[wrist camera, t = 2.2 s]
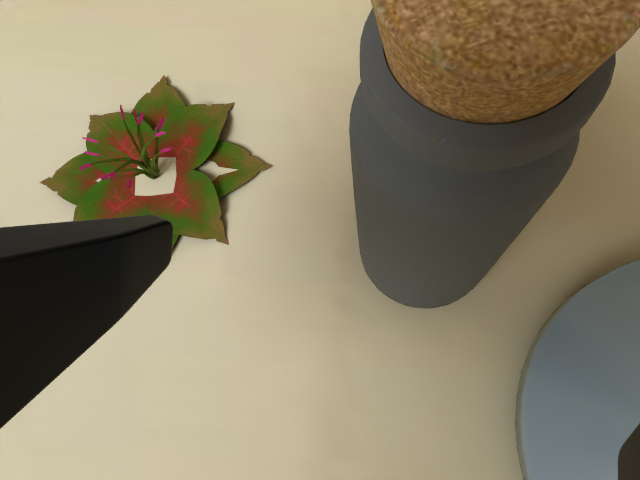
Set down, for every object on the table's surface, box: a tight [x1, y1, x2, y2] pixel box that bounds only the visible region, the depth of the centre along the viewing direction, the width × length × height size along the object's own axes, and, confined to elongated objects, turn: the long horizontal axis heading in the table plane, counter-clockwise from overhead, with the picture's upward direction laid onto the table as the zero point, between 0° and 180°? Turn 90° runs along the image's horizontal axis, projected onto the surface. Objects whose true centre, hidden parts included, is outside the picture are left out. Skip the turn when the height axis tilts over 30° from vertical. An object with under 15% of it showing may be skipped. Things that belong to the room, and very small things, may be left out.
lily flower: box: [39, 76, 272, 246], centre depth 23 cm, size 12×12×5 cm
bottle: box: [349, 0, 640, 308], centre depth 15 cm, size 6×6×15 cm
